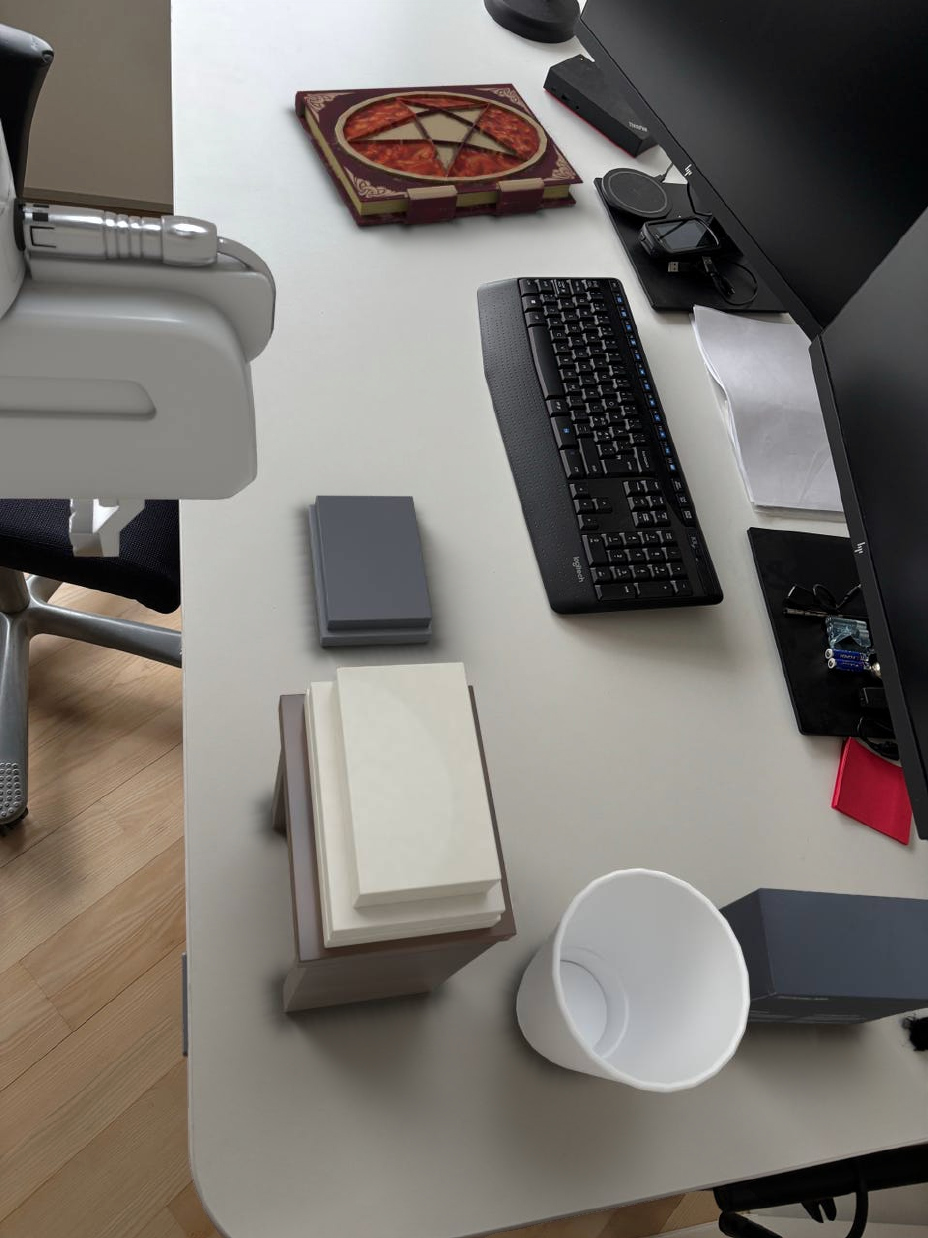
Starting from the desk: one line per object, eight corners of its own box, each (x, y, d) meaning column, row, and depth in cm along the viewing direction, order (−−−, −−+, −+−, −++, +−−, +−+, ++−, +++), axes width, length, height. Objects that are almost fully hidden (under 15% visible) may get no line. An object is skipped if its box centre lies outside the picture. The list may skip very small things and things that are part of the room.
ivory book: (330, 689, 47) (336, 667, 45) (453, 683, 49) (464, 661, 46) (352, 908, 42) (359, 895, 40) (488, 892, 44) (502, 879, 41)
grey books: (308, 514, 80) (311, 492, 78) (408, 515, 83) (414, 493, 80) (320, 646, 74) (324, 627, 72) (428, 642, 77) (436, 624, 74)
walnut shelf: (264, 808, 67) (279, 694, 50) (411, 795, 70) (472, 684, 53) (276, 1013, 60) (298, 963, 44) (438, 990, 63) (517, 934, 47)
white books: (303, 701, 50) (309, 673, 47) (453, 693, 52) (467, 665, 49) (324, 948, 44) (332, 934, 41) (492, 927, 46) (511, 912, 43)
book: (503, 105, 119) (513, 66, 115) (577, 210, 111) (591, 172, 106) (294, 115, 108) (296, 72, 104) (359, 232, 100) (364, 191, 96)
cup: (542, 1142, 60) (635, 1141, 47) (450, 976, 64) (512, 931, 51) (673, 1041, 65) (791, 1014, 52) (581, 893, 69) (669, 832, 56)
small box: (835, 932, 72) (935, 897, 62) (853, 1026, 69) (962, 1005, 59) (680, 923, 70) (759, 885, 60) (691, 1020, 66) (776, 998, 56)
